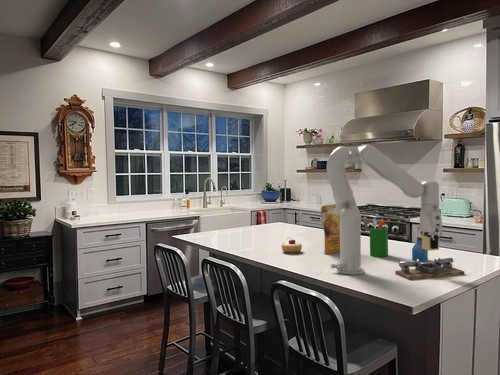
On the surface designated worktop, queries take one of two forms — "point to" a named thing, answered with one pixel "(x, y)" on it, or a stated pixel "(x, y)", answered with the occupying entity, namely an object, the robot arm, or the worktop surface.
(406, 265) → the left shaft
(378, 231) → the green bottle
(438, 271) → the stand
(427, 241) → the coupling block
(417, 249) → the perfume bottle
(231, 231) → the worktop surface
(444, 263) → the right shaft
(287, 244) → the pastry
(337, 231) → the pancake mix bag
